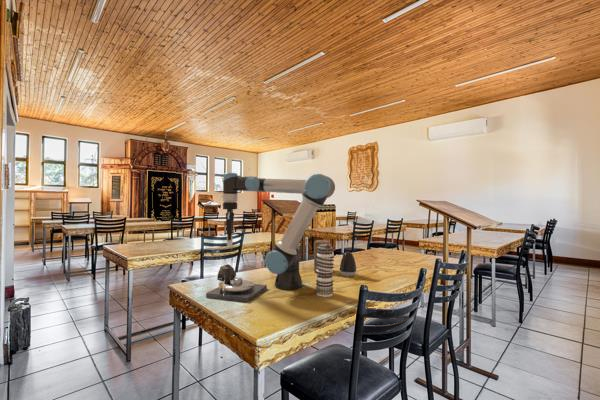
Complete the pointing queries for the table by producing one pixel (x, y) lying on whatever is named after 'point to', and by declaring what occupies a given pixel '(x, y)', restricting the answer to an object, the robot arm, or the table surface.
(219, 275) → the fossil
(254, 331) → the table surface
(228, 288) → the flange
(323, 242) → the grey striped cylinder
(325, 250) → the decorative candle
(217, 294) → the clock base
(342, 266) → the dark grey tapered dome
